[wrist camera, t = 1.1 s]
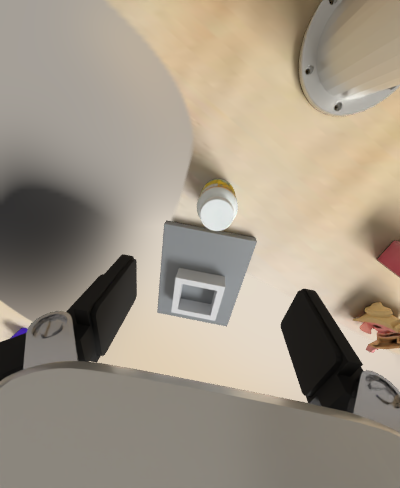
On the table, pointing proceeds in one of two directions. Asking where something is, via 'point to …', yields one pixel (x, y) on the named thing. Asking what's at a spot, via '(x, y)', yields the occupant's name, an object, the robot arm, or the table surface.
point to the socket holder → (202, 272)
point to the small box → (391, 258)
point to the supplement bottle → (217, 205)
